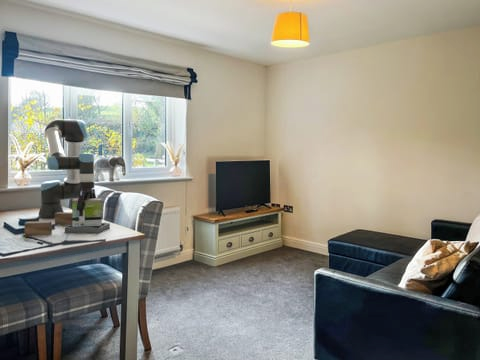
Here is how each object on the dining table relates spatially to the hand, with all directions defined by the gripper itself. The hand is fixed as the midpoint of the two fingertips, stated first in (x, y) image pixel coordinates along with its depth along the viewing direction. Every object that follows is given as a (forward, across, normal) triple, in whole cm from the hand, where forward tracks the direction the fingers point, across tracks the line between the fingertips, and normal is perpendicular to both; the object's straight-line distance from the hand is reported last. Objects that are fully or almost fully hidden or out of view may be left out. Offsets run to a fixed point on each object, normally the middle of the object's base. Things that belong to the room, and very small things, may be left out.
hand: (87, 219), depth 215 cm
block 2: (+6, -14, -20) cm, 25 cm away
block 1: (+6, +14, -20) cm, 25 cm away
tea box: (+3, 0, 0) cm, 3 cm away
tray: (+6, 0, 0) cm, 6 cm away
